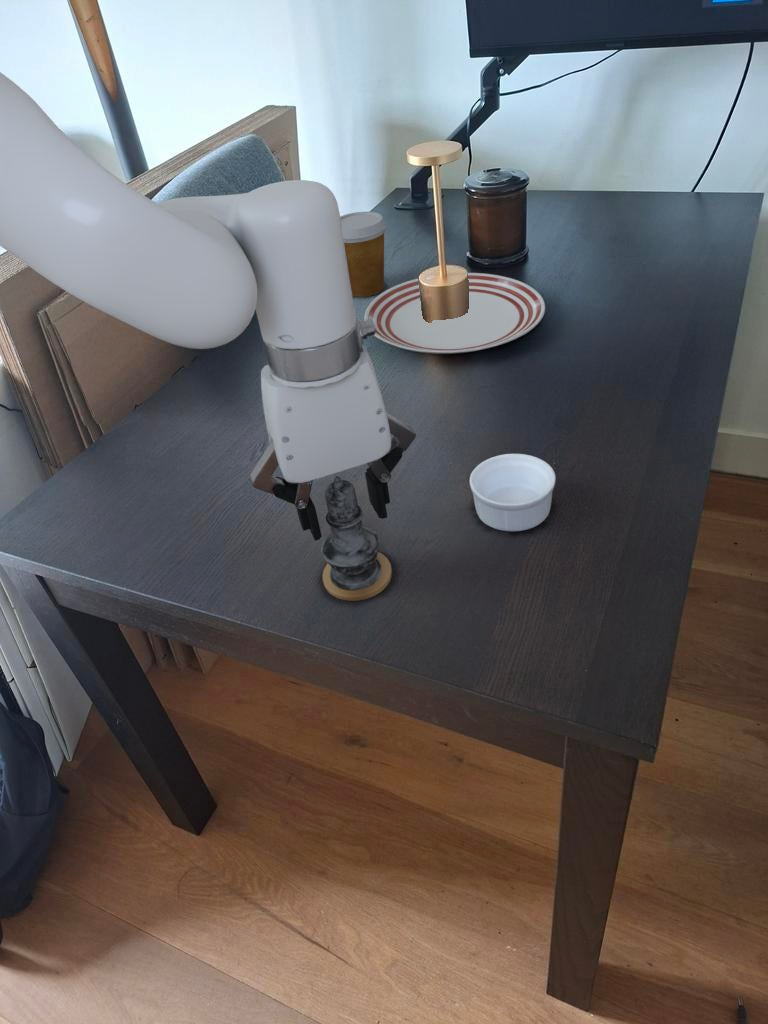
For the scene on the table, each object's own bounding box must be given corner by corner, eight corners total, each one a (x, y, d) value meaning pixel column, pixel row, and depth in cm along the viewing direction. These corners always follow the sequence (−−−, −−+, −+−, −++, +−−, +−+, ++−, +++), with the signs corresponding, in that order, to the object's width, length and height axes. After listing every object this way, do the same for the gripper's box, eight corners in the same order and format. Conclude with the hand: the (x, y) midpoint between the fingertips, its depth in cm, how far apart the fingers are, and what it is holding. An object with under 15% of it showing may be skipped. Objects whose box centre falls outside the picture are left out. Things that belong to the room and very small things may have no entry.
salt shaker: (395, 562, 77) (381, 466, 69) (363, 600, 73) (344, 503, 66) (348, 545, 80) (329, 451, 72) (315, 581, 76) (291, 486, 68)
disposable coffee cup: (376, 274, 138) (367, 206, 130) (403, 289, 131) (395, 219, 124) (330, 289, 135) (318, 221, 127) (355, 306, 128) (344, 235, 120)
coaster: (335, 610, 73) (334, 605, 73) (315, 565, 79) (314, 561, 78) (402, 586, 75) (401, 582, 74) (378, 544, 80) (377, 540, 80)
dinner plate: (556, 290, 123) (557, 270, 121) (528, 374, 104) (528, 352, 101) (396, 288, 132) (394, 270, 130) (342, 365, 112) (338, 345, 110)
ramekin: (522, 548, 77) (522, 515, 74) (454, 516, 82) (452, 484, 79) (571, 503, 82) (572, 470, 79) (503, 475, 87) (503, 444, 84)
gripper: (396, 305, 65) (415, 473, 77) (200, 358, 62) (251, 526, 73) (430, 339, 60) (445, 515, 71) (216, 399, 56) (268, 574, 68)
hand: (346, 519), depth 72 cm, fingers open, 5 cm apart
